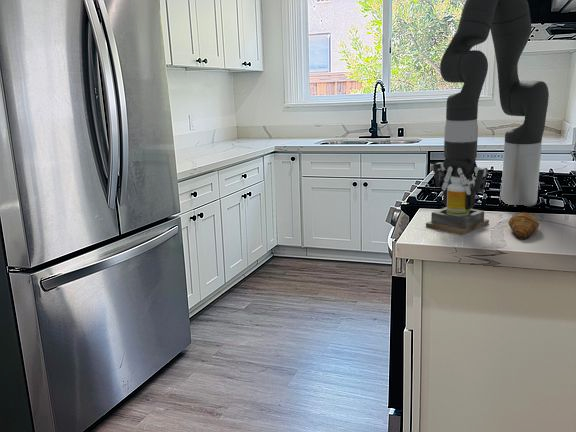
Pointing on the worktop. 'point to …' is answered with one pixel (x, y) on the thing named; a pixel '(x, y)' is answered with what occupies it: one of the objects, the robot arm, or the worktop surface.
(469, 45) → the robot arm
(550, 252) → the worktop surface
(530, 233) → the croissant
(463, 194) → the supplement bottle
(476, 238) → the worktop surface
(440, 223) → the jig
